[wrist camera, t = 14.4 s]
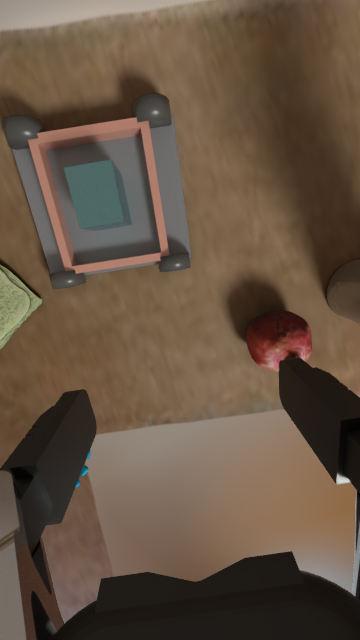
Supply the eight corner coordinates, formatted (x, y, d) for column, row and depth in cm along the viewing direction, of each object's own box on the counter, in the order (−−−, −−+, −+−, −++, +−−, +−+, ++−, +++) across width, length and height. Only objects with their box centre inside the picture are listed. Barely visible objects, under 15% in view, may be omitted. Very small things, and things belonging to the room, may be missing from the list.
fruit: (253, 296, 38) (281, 313, 28) (306, 315, 39) (349, 338, 30) (230, 346, 40) (248, 378, 31) (280, 363, 42) (312, 399, 32)
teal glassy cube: (121, 175, 31) (110, 159, 25) (132, 224, 33) (124, 220, 27) (83, 181, 31) (63, 167, 25) (95, 231, 33) (79, 228, 27)
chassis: (171, 111, 30) (171, 90, 26) (191, 264, 36) (194, 267, 32) (14, 136, 30) (-11, 119, 26) (59, 285, 36) (44, 290, 32)
